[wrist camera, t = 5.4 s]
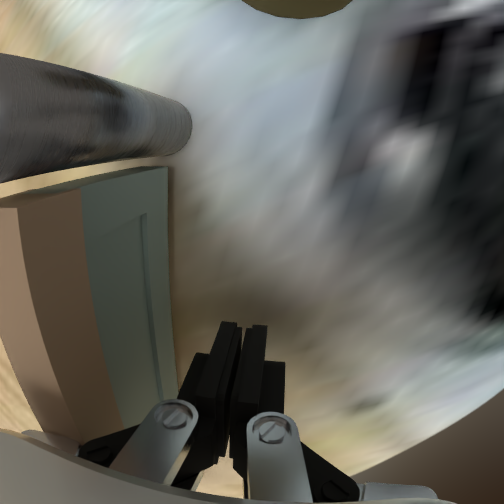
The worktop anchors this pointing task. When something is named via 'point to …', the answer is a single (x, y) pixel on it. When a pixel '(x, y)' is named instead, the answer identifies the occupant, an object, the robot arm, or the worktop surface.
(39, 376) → the gate
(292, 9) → the cork
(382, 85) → the worktop surface
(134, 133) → the gate posts
